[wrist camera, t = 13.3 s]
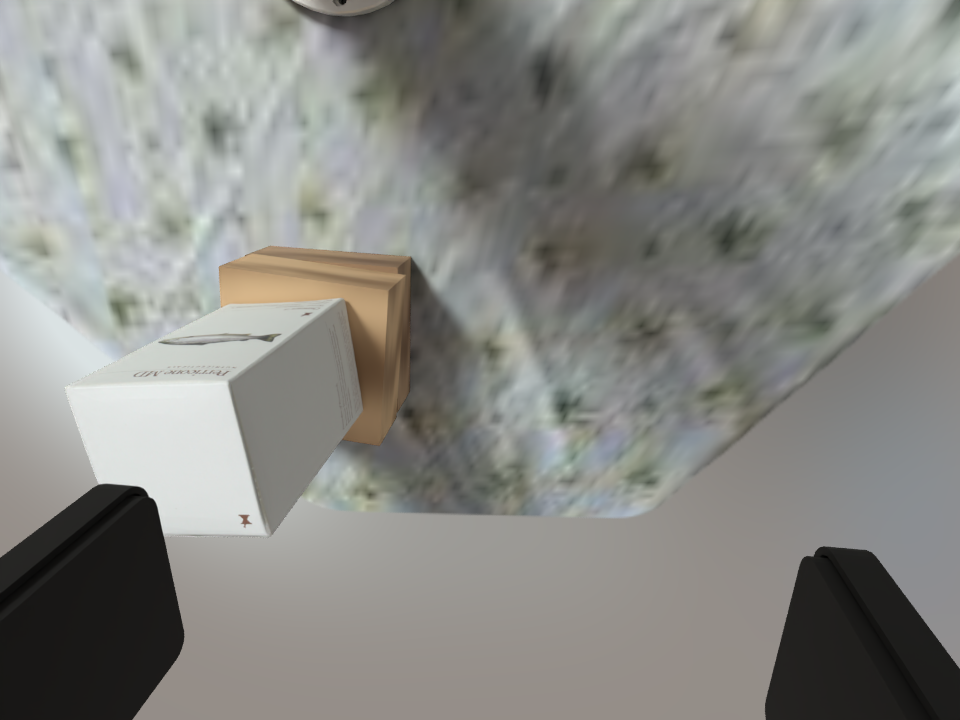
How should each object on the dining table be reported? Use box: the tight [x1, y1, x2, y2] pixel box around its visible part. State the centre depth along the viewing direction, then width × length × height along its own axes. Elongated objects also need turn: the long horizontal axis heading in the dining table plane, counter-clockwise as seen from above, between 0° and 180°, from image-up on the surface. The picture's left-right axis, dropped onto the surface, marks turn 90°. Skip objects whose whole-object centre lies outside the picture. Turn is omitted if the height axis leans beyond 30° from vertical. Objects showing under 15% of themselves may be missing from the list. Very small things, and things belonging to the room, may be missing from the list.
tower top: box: [219, 253, 406, 446], centre depth 37 cm, size 10×10×4 cm
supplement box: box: [64, 298, 363, 538], centre depth 30 cm, size 7×7×13 cm
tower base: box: [245, 246, 411, 412], centre depth 41 cm, size 10×10×4 cm
